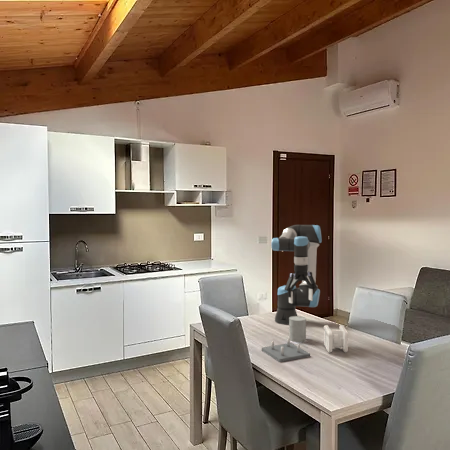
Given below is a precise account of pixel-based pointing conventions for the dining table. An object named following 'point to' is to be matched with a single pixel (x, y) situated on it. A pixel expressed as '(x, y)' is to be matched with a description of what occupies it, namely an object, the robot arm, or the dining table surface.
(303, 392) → the dining table surface
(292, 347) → the pin tray
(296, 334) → the gray cylinder
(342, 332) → the cable organizer
